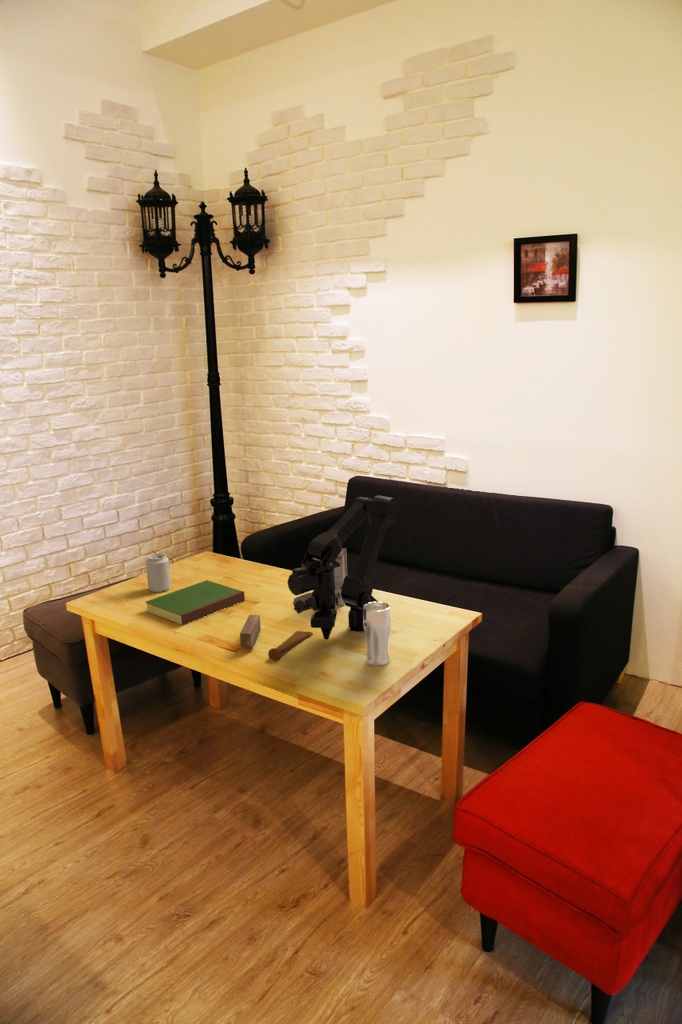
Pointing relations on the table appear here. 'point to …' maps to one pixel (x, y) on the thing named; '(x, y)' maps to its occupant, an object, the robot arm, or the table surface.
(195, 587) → the hardcover book
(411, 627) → the table surface
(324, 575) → the robot arm
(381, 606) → the beer glass
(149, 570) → the can
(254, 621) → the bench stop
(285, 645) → the primitive tool
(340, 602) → the coffee box
